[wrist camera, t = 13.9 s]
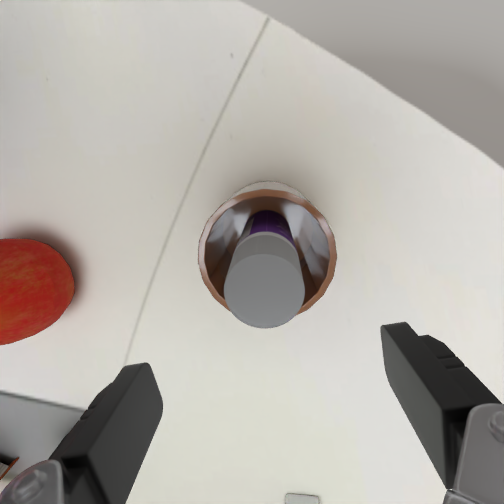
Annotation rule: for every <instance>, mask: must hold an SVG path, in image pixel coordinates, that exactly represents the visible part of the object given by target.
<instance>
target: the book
mask: <svg viewBox="0 0 504 504" xmlns="http://www.w3.org/2000/svg"><path fill="white" fill-rule="evenodd" d="M18 459H19V457H18V458H16V459H15V460H14V461H13V462H12V463H11V464H9V465H5V464H3V463H0V480H1V479H2V478H3V477H4V475H5V474H6V473H7V472H8V471H9V470H10V468H11V467H12V466H13V465H14V464H15V462H16V461H17V460H18Z"/></svg>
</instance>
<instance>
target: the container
mask: <svg viewBox="0 0 504 504" xmlns="http://www.w3.org/2000/svg"><path fill="white" fill-rule="evenodd" d="M224 296H225V301H226V303H227V306H228V308H229V309H230V311H231V312H232V313H233V315H234V316H235V317H236V318H238V319H239V320H240V321H242V322H243V323H245V324H247V325H250V326H253V327H257V328H273V327H277V326H280V325H282V324H285V323H286V322H288V321H289V320H291V319H292V318H293V317H294V316H295V315H296V314H297V313H298V311H299V310H300V308H301V306H302V304H303V301H304V296H305V287H304V282H303V277H302V272H301V267H300V262H299V257H298V253H297V250H296V247H295V243H294V240H293V237H292V234H291V230H290V227H289V224H288V222H287V221H286V219H285V218H284V217H283V216H282V215H281V214H279V213H278V212H275V211H272V210H262V211H259V212H256V213H255V214H253V215H252V216H251V217H250V218H249V219H248V221H247V222H246V224H245V227H244V229H243V231H242V234H241V236H240V239H239V241H238V244H237V246H236V249H235V251H234V254H233V257H232V260H231V264H230V267H229V270H228V274H227V277H226V280H225V284H224Z"/></svg>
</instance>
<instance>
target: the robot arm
mask: <svg viewBox="0 0 504 504" xmlns="http://www.w3.org/2000/svg"><path fill="white" fill-rule="evenodd" d="M381 340H382V348H383V357H384V365H385V371H386V375H387V378H388V381H389V383H390V386H391V388H392V390H393V391H394V393H395V395H396V397H397V399H398V401H399V402H400V404H401V406H402V408H403V410H404V412H405V414H406V415H407V417H408V419H409V421H410V423H411V425H412V426H413V428H414V430H415V432H416V434H417V436H418V437H419V439H420V441H421V443H422V445H423V447H424V449H425V450H426V452H427V454H428V456H429V458H430V460H431V461H432V463H433V465H434V467H435V469H436V471H437V473H438V474H439V476H440V478H441V480H442V482H443V484H444V485H445V487H446V489H448V490H447V492H446V494H445V497H444V501H443V504H504V404H502V403H501V402H500V401H499V400H498V399H497V398H496V397H495V396H494V395H493V394H492V392H491V391H490V390H489V389H488V388H487V387H486V386H485V385H484V384H483V383H482V382H481V381H480V380H479V379H478V378H477V377H476V376H475V375H474V374H473V373H472V372H471V371H470V370H469V369H468V368H467V367H465V365H464V363H463V362H462V361H461V360H460V359H459V358H458V357H456V356H455V354H454V353H453V352H452V351H451V350H450V349H449V348H448V347H447V346H446V345H445V344H444V343H443V342H441V341H439V340H437V339H435V338H433V337H431V336H429V335H423V336H418V335H417V334H416V333H415V331H414V330H413V329H412V328H411V327H410V326H409V324H408V323H406V322H401V323H394V324H388V325H382V326H381ZM162 412H163V401H162V397H161V394H160V391H159V388H158V386H157V383H156V380H155V377H154V374H153V371H152V369H151V366H150V365H149V364H148V363H140V364H133V365H127V366H125V367H123V369H122V370H121V371H120V373H119V374H118V376H117V377H116V378H115V380H114V381H113V383H110V384H109V385H108V386H107V387H106V388H104V389H103V390H102V391H101V392H100V393H99V394H98V395H97V396H96V397H95V399H94V400H93V401H92V403H91V404H90V405H89V407H88V410H86V411H85V412H84V414H83V415H82V416H81V419H80V420H79V421H78V422H77V423H76V425H75V426H74V427H73V429H72V430H71V431H70V433H69V434H68V435H67V437H66V438H65V440H64V441H63V442H62V444H61V445H60V446H59V448H58V449H57V450H56V452H55V453H54V455H53V456H52V457H51V459H50V460H45V461H42V462H39V463H37V464H35V465H33V466H31V467H29V468H28V469H26V470H25V471H23V472H22V473H20V474H19V475H18V476H17V477H15V478H14V479H13V480H12V481H11V482H10V483H9V484H8V485H7V486H6V487H5V489H4V490H3V491H2V493H1V494H0V504H125V503H126V501H127V498H128V496H129V494H130V491H131V489H132V486H133V484H134V482H135V479H136V477H137V474H138V472H139V470H140V467H141V465H142V462H143V460H144V458H145V455H146V453H147V451H148V448H149V446H150V443H151V441H152V439H153V436H154V434H155V431H156V429H157V427H158V424H159V422H160V419H161V417H162ZM449 489H452V490H449Z"/></svg>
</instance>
